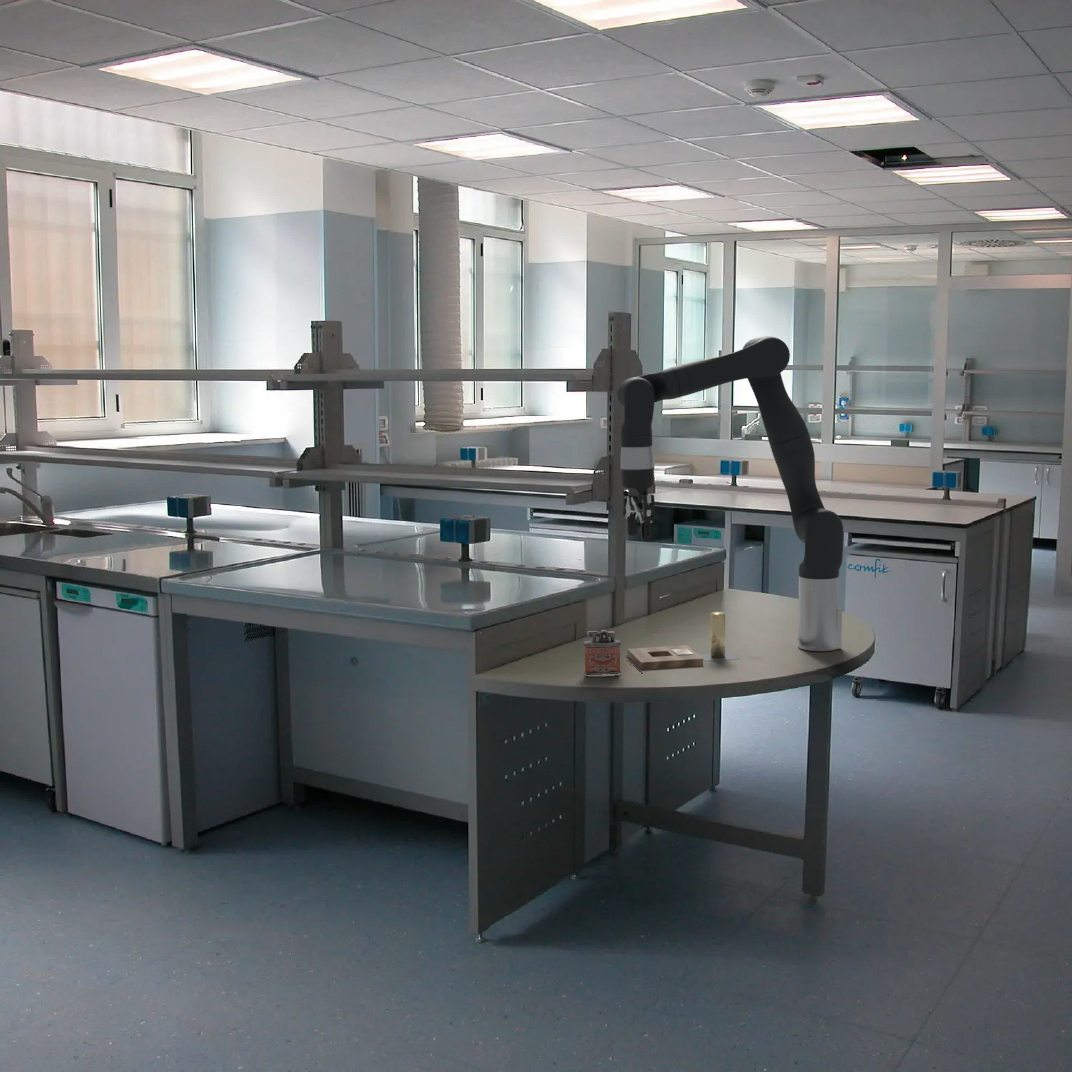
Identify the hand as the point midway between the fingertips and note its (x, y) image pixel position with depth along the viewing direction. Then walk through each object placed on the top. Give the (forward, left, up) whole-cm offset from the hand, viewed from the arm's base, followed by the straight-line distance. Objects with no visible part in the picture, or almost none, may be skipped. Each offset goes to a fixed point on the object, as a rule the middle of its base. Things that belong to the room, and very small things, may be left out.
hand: (639, 537), depth 256 cm
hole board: (-3, +8, -29) cm, 30 cm away
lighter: (+12, +12, -29) cm, 33 cm away
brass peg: (-16, +8, -27) cm, 32 cm away
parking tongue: (-16, +8, -29) cm, 34 cm away
